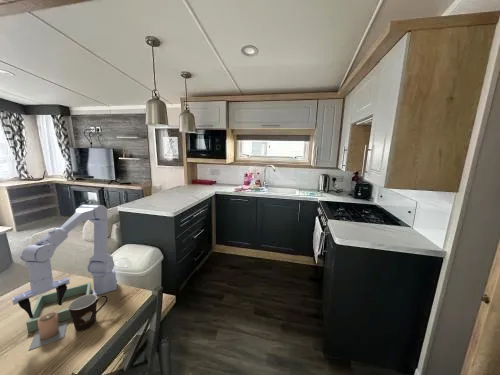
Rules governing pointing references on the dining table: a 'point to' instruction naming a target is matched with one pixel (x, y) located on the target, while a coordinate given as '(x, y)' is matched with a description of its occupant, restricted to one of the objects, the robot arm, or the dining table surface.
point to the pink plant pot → (48, 325)
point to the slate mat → (37, 342)
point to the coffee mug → (84, 311)
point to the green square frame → (50, 297)
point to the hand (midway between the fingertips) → (46, 310)
